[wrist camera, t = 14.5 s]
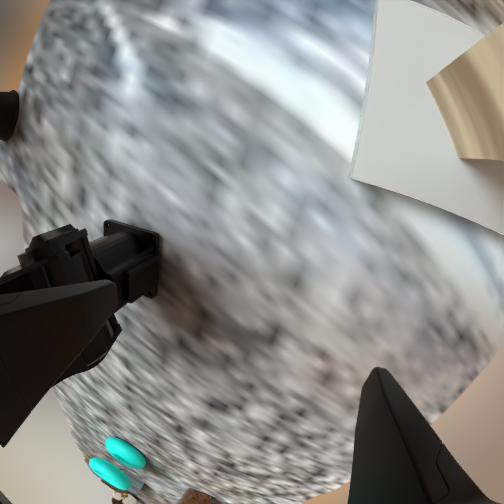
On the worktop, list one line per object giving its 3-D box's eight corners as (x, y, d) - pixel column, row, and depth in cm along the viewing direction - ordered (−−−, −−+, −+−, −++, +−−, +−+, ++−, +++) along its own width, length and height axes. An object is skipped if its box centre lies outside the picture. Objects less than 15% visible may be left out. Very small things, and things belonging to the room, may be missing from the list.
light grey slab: (348, 176, 18) (351, 178, 15) (374, 9, 13) (378, -10, 10) (500, 232, 15) (519, 243, 12) (520, 79, 10) (538, 73, 7)
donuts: (80, 460, 36) (98, 468, 32) (103, 433, 45) (123, 435, 41) (113, 487, 37) (135, 496, 33) (132, 460, 46) (156, 464, 42)
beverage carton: (146, 483, 53) (137, 498, 47) (126, 481, 61) (118, 494, 55) (124, 467, 53) (113, 482, 47) (108, 468, 60) (99, 480, 54)
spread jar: (141, 498, 67) (128, 517, 56) (141, 502, 71) (129, 519, 61) (115, 483, 68) (102, 501, 58) (116, 487, 73) (104, 504, 62)
